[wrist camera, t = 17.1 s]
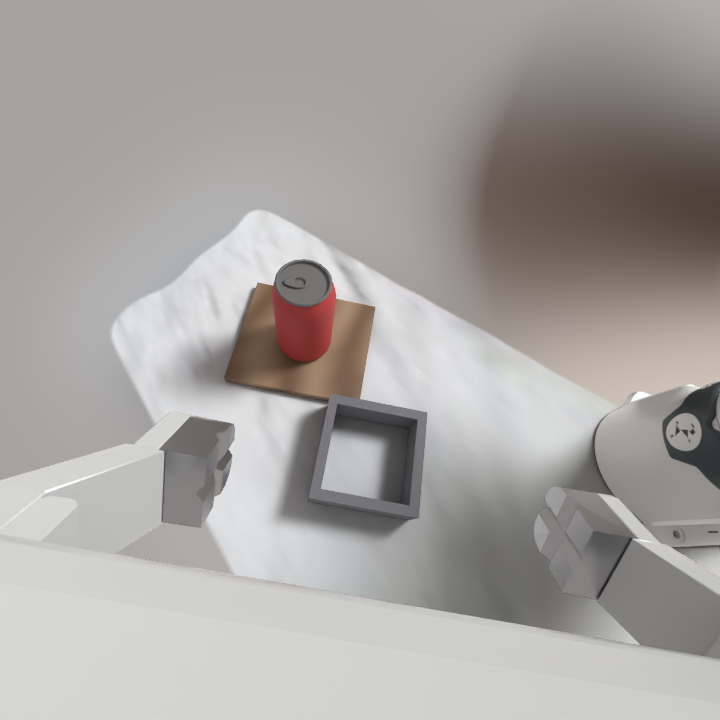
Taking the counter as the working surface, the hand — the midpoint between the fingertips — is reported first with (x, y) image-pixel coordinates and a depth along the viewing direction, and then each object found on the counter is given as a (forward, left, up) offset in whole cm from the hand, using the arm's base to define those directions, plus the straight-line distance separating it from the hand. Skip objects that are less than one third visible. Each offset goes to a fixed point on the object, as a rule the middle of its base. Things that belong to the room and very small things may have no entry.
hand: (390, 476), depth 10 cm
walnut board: (+7, -20, -33) cm, 40 cm away
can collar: (-3, -7, -33) cm, 34 cm away
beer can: (+7, -20, -33) cm, 39 cm away
